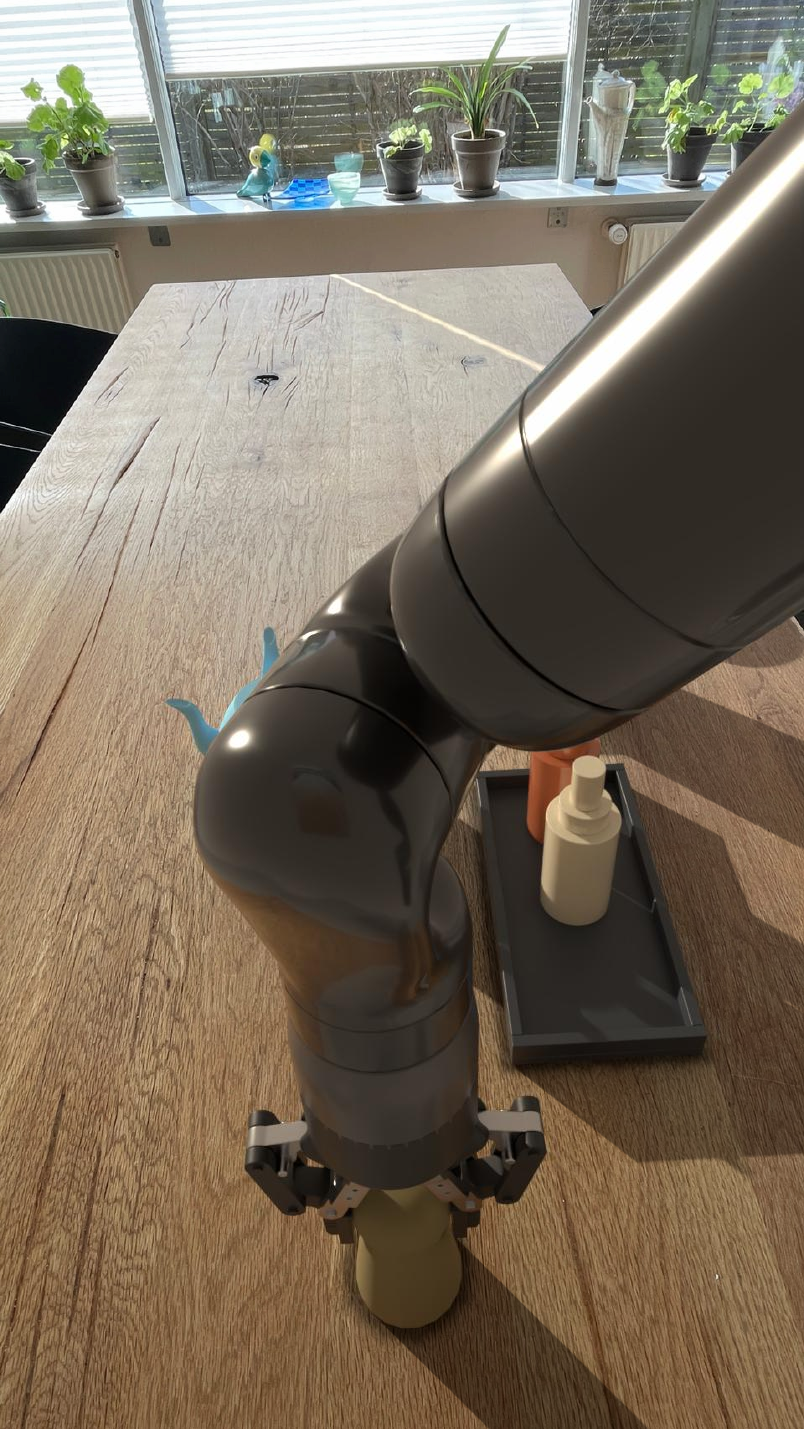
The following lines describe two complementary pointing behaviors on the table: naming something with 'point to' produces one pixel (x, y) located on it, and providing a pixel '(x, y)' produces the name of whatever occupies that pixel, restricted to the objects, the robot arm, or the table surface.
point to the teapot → (207, 734)
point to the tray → (583, 944)
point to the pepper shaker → (406, 1256)
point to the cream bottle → (580, 847)
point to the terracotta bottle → (551, 781)
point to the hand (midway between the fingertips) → (403, 1220)
